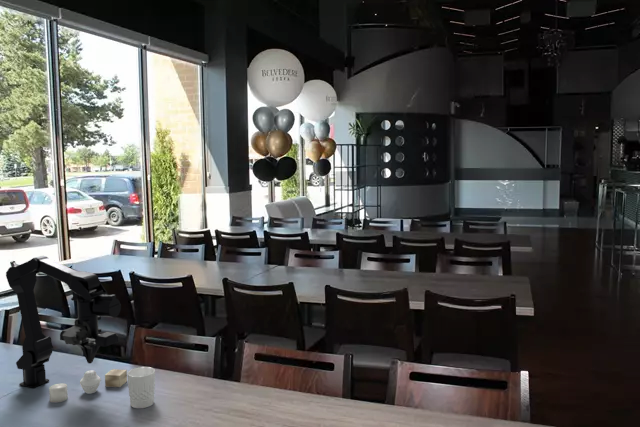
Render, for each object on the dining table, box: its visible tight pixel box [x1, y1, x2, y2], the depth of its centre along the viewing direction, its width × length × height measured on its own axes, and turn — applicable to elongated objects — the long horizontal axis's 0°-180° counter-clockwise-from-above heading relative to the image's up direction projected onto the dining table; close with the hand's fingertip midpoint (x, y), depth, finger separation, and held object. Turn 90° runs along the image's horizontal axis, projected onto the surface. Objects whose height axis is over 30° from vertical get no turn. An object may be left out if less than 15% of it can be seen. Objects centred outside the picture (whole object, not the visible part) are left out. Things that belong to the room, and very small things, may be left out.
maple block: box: [104, 368, 128, 388], centre depth 185 cm, size 5×5×4 cm
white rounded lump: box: [48, 382, 69, 404], centre depth 174 cm, size 5×5×4 cm
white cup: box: [127, 366, 156, 409], centre depth 170 cm, size 8×8×10 cm
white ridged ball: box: [79, 369, 102, 395], centre depth 179 cm, size 6×6×7 cm
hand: (90, 363), depth 178 cm, fingers closed
